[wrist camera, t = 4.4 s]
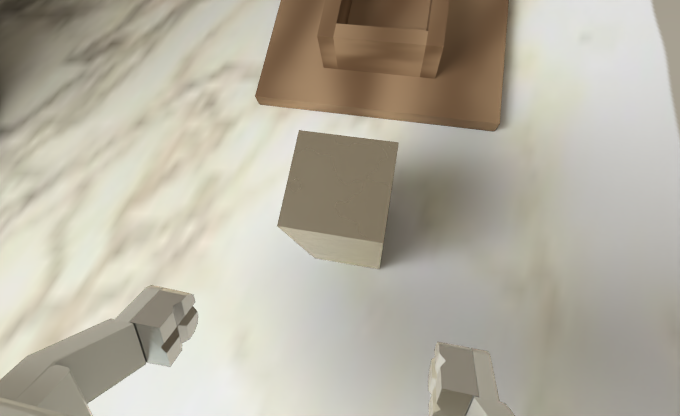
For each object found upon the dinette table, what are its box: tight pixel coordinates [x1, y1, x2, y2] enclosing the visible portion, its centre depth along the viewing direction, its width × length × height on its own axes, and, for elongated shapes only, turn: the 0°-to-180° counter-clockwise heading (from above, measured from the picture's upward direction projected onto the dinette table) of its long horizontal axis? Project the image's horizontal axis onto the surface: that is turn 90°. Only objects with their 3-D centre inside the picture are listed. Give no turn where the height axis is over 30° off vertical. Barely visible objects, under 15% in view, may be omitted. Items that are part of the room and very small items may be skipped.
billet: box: [277, 130, 398, 269], centre depth 18 cm, size 4×4×9 cm
